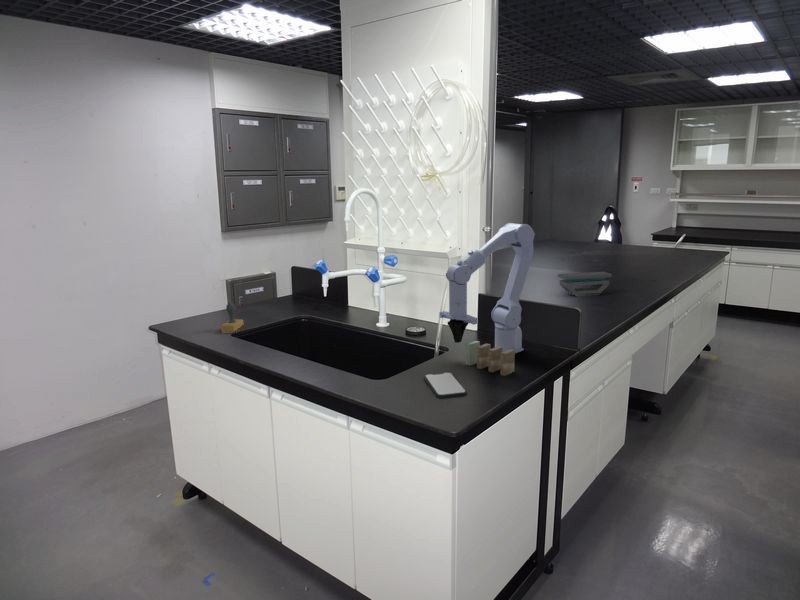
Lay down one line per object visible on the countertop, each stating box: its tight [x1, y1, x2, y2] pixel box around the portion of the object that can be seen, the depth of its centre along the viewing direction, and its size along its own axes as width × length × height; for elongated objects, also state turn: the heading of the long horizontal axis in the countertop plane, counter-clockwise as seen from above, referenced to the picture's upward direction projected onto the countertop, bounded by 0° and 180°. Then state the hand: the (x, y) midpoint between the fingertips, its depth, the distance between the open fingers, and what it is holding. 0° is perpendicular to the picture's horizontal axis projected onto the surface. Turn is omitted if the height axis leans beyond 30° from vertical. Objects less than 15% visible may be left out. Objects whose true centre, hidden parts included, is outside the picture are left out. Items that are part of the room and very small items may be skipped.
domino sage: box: [465, 340, 481, 367], centre depth 169 cm, size 2×5×7 cm, turn 132°
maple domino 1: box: [476, 343, 492, 370], centre depth 166 cm, size 2×5×7 cm, turn 134°
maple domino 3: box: [500, 349, 516, 377], centre depth 160 cm, size 2×5×7 cm, turn 134°
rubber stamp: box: [220, 302, 245, 332], centre depth 217 cm, size 10×6×12 cm, turn 175°
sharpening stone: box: [557, 271, 613, 294], centre depth 267 cm, size 25×8×11 cm, turn 98°
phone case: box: [423, 372, 468, 399], centre depth 151 cm, size 9×2×16 cm
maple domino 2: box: [487, 346, 502, 373], centre depth 163 cm, size 2×5×7 cm, turn 134°
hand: (458, 341), depth 173 cm, fingers closed
